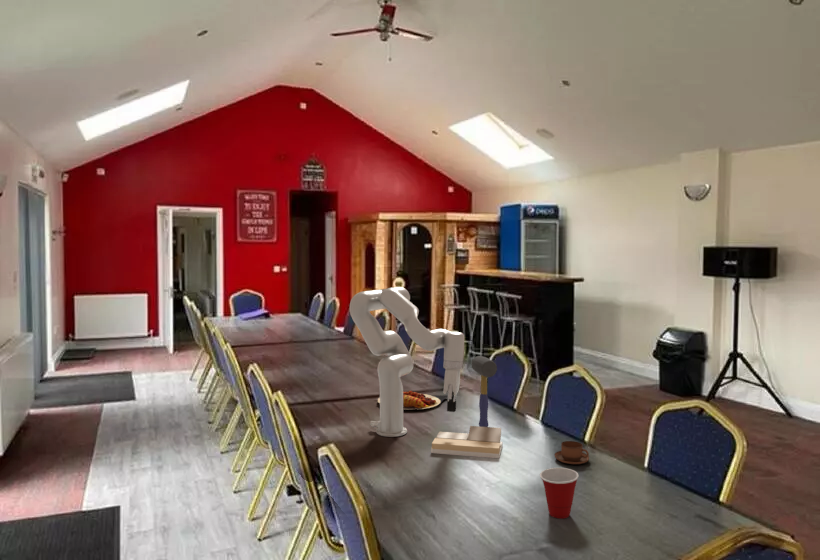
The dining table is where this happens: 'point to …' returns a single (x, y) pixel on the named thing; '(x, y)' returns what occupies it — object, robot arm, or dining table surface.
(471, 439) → the right plank
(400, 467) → the dining table surface
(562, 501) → the plastic cup
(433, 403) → the omelette plate
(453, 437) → the left plank
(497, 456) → the floor board
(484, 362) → the rubber mallet
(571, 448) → the cup and saucer
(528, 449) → the dining table surface
